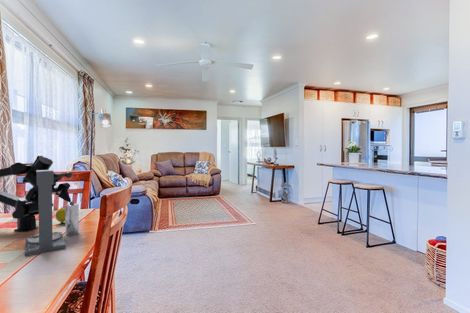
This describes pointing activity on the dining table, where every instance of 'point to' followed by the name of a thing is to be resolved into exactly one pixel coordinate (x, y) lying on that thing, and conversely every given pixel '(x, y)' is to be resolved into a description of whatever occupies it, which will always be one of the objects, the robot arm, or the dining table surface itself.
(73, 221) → the silver metal bottle
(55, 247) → the stand
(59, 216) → the lemon
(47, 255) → the dining table surface
